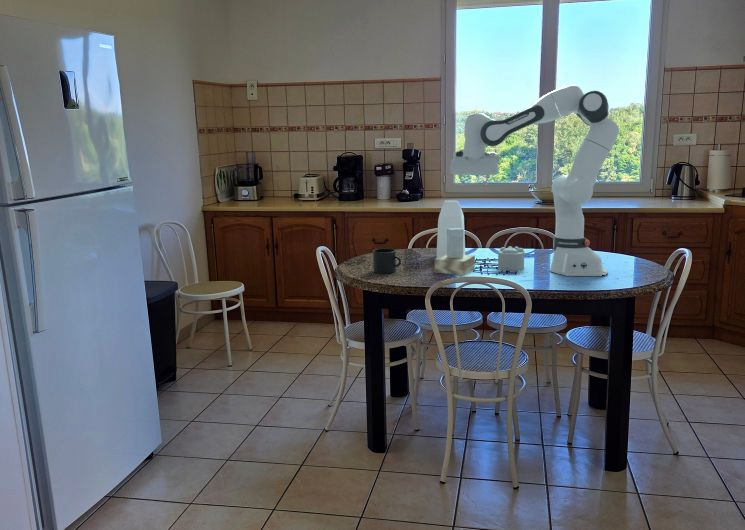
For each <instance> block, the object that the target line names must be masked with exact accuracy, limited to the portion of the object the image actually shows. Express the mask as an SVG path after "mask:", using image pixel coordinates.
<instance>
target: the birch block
mask: <svg viewBox="0 0 745 530" xmlns="http://www.w3.org/2000/svg"><path fill="white" fill-rule="evenodd" d="M475 264H476V257H475V255H470V254H469V255H468V254H465V255H463V257H462V258H448V257H447V254H444V255H442V256H440V257H438V258H436V257H435V258H434V273H440V274H448V275H449V274H450V275H461V276H465V275H468V272H469V273H470V272H472V271H474V270H475V269H476V266H475Z"/></svg>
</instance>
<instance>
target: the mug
mask: <svg viewBox="0 0 745 530" xmlns="http://www.w3.org/2000/svg"><path fill="white" fill-rule="evenodd" d="M396 252H397V251H396V249H393V248H376V249H374V250H372V256H373V257H372V259H373V260H372V261H373V263H372V265H373V266H372V267H373V269H372V270H373V271H372V272H373V273H375V274H378V273H379V275H389V274H394V273H396V271H397V270H396V269H397V267H399V266H401V264H402V260H401V258H400V256H397V255H396V254H397V253H396ZM397 260H398V264H397Z"/></svg>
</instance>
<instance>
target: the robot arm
mask: <svg viewBox="0 0 745 530" xmlns="http://www.w3.org/2000/svg"><path fill="white" fill-rule="evenodd" d="M609 108H610V106H609V102H608V99H607V96H606V95H605V94H604V93H603V92H601V91H600V90H599V91H598V90H590V91H587V92H586V93H584V92H583V91H582V89H581V87H580V86H578V85H577V84H570V85H566V86H562V87H560V88H557V89H555V90H553V91H551V92H548V93H547V94H544V95H543V96H541V97H539V98H538V99H536V100H535V101H534V102H533V103H531V104H530V105H529V106H528V107H527V108H525V109H523V110H521V111H520V112H517V113H516V114H513V115H511V116H509V117H507V118H505V119H501V120H500V119H499V120H496V119H493V118H491V117H489V116H487V115H485V114H484V113H482V112H479V113H474V114H473V113H472V114H470V115H468V116H467V117H466V118H465V122H464V140H465V141H464V144H463V147H464V148H463V149H460V150H458V151H454V152H453V154H452V155H453V158H452V159H451V162H450V168H449V169H450V170H449V171H450V174H451V175H452V176H453V175H458V179H459V180H460V181H459V182H460V186H466V181H465V180H463V175H465V176H470V175H471V176H472V175H474V176H475V175H477V176H480V175H482V176H483V175H484V176H485V178H486V179H485V180H484V181H483V182H482V185H483V186H488V181H489V179H490V178H491V175H492V176H495V175H498V173H499V162H500V155H499V154H498V153H496V152H486V145H487V146H488V147H495V146H498V145H501V144H502V143H504V142H506V140H507V138H508V136H510V135H511V134H513V133H515V132H517V131H520V130H522V129H524V128H526V127H528V126H533V125H538V124H546V123H550V122H553V121H556V120H559V119H561V118H563V117H565V116H567V115H570V114H573V113H574V114H576V115H577V117H578V118H579V119H580V120H581V121H582V122H583V123H584V124H585V125H587V126H589V129H588V132H587V133H586V136H585V137H584V138H583V140H582V143H581V145H580V146H579V147H578V150H576V152H575V154H574V156H573V162H572V166H571V169H570V172H569V173H568V174H562V175H560V176H558V177H557V178H555V179H554V180H553V181H552V184H551V192H552V195H553V205H554V211H555V212H554V214H555V231H554V232H555V234H554V237H553V242H552V243H553V244H552V245H553V246H552V249H553V256H552V262H551V265H550V268H549V272H552V273H554V274H559V275H562V276H567V277H603V276H602V275H605V276H607V275H608V274H607V273H608V269H607V268H605V267H603V262H602V259H601V257H600V255H599V254H598V253H596V252H595V251H594V250H592V249H591V248H590V247H589V246H590V243H591V242H590V240H589V239H588V238H586V237H585V236H584V235H585V234H584V233H585V232H584V231H585V216H584V214H583V208H582V207H583V206H582V205H584V204H586V203H588V202H589V201H590V200H591V198H592V197H593V194H594V186H595V184H596V180H597V177H598V176H599V172H600V171H601V168H602V166H603V164H604V163H605V161H606V159H607V158H608V156H609V154H610V152H611V151H612V149H613V146H615V142H616V140H617V137H618V134H619V131H620V128H619V125H618V124H617V123H616V122H615V121H614V120H612V119H610V118H609V110H610V109H609ZM606 274H607V275H606Z"/></svg>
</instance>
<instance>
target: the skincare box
mask: <svg viewBox="0 0 745 530" xmlns="http://www.w3.org/2000/svg"><path fill="white" fill-rule="evenodd" d="M464 233H465V228H464V229H461V228H450V229H447V257H448V258H462V257H463V246H464Z"/></svg>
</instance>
